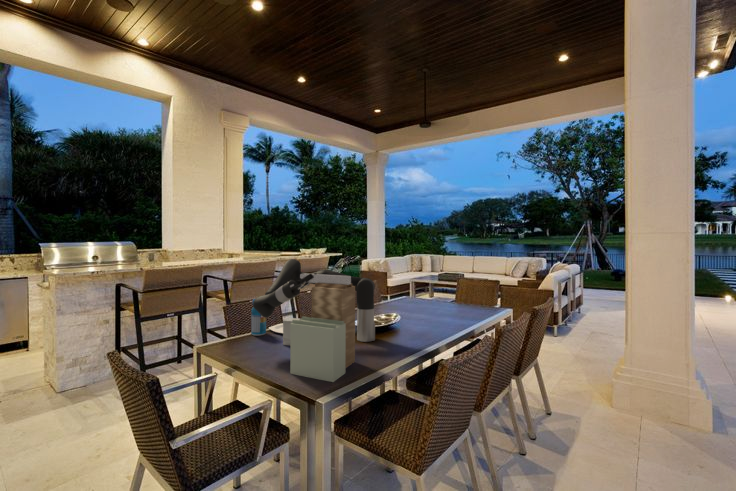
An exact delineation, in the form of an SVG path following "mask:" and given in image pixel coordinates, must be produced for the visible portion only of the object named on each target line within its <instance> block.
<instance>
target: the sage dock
mask: <svg viewBox="0 0 736 491" xmlns="http://www.w3.org/2000/svg"><path fill="white" fill-rule="evenodd" d="M289 346H290V348H289V350H290V351H289V352H290V353H289V355H290V360H289V361H290V364H289V365H290V367H289V368H290V371H289V372H290V373H289V374H290V375H295V376H300V377H306V378H310V379H316V380H320V381H326V382H330V383H331V382H332V383H334V382H336V381H338V379H339V378H341V377H342V376H344V375H345V374H346V368H345V350H346V323H344V321H338V320H330V319H321V318H313V317H312V316H311V317H310V316H303V315H302V316H301V320H292V323H291V324H290V345H289Z"/></svg>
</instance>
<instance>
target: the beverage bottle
mask: <svg viewBox="0 0 736 491" xmlns="http://www.w3.org/2000/svg"><path fill="white" fill-rule="evenodd" d="M255 299H256V298H253V299H252V303H253V302H254V300H255ZM250 313H251V315H250V320H251V322H250V324H251V325H250V326H251V328H250V329H251V332H250V333H251V335H252V336H255V337H256V336H257V337H258V336H264V335H266V334H267V317H263V316H262V315H261V314H260V313H259V312H258V311H257V310H256V309H255V308H254V307H253V306H252V308H251V311H250Z"/></svg>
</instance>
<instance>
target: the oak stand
mask: <svg viewBox="0 0 736 491" xmlns="http://www.w3.org/2000/svg"><path fill="white" fill-rule="evenodd" d="M311 317H313V318H321V319H330V320H338V321H344V323H346V350H345V369H347V368H348V367H350V366H351V365H352V363H353V364H354V363H355V362H356V291H355V286H352V283H351V284H349V285H340V284H326V283H315V284H314V286H312V287H311Z"/></svg>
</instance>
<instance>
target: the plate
mask: <svg viewBox="0 0 736 491" xmlns="http://www.w3.org/2000/svg"><path fill="white" fill-rule="evenodd" d="M268 329H269V330H270V331H272V332H273V333H278V334H282V335H283V322H281V323H278V324H274V325H272V326H269V327H268Z"/></svg>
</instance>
